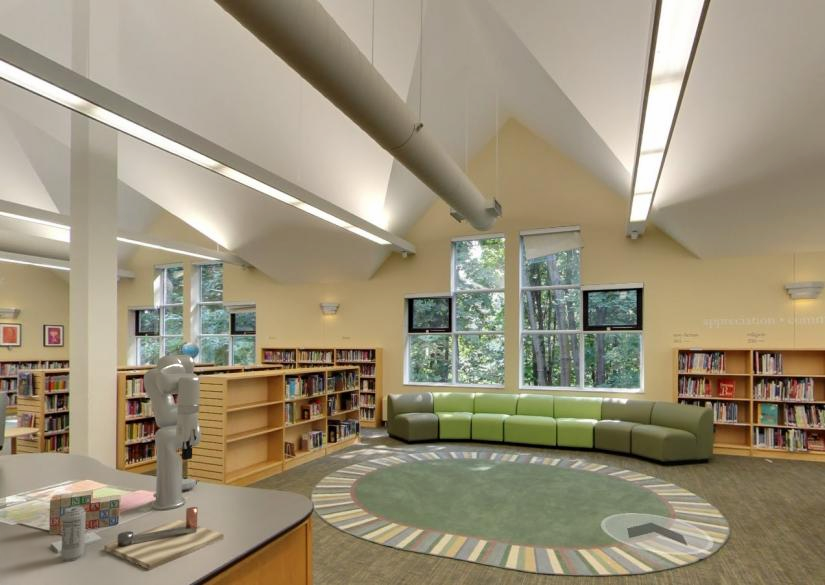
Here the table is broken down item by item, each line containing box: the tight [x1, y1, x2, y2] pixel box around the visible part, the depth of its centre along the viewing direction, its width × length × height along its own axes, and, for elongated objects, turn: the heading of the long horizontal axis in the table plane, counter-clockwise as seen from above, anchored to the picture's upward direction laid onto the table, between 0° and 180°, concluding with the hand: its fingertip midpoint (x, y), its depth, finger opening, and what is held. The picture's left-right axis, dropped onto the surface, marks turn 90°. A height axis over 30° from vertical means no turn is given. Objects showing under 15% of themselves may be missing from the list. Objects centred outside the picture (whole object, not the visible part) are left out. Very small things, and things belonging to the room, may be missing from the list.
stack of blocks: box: [48, 489, 121, 536], centre depth 185 cm, size 21×6×12 cm, turn 115°
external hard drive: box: [50, 531, 102, 554], centre depth 170 cm, size 2×8×12 cm
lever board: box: [103, 519, 225, 571], centre depth 169 cm, size 26×26×2 cm
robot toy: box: [182, 477, 201, 491], centre depth 228 cm, size 12×4×15 cm
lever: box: [117, 506, 198, 546], centre depth 171 cm, size 24×4×8 cm, turn 119°
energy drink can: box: [61, 506, 86, 562], centre depth 160 cm, size 6×6×15 cm
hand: (186, 458), depth 189 cm, fingers closed
